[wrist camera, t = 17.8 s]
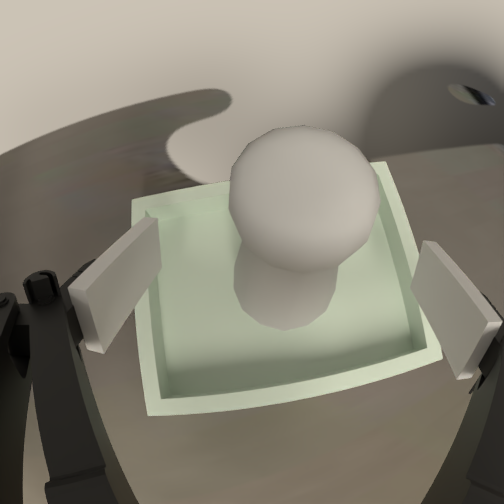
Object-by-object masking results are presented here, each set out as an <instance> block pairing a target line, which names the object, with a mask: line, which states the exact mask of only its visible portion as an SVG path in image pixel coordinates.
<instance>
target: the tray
mask: <svg viewBox="0 0 504 504" xmlns="http://www.w3.org/2000/svg"><path fill="white" fill-rule="evenodd" d="M370 165H371V166H372V167H373V169H374V170H375V172H376V174H377V180H378V186H379V192H380V199H381V203H380V206H379V209H378V213H377V216H376V219H375V221H374V224H373V227H372V230H371V233H370V235H369V238H368V241H367V242H366V243H365V244H364V245H363V246H362V247H361V248H360V249H359V250H357V251H356V252H355V253H354V254H352V255H351V256H350V257H349V258H347V259H346V260H345V261H344V262H342V263H341V264H340V265H339V266H338V273H337V281H336V289H335V292H334V294H333V296H332V299H331V301H330V303H329V306H328V308H327V310H326V311H325V312H324V313H323V314H322V315H320V316H319V317H318V318H317V319H315V320H314V321H313V322H311V323H310V324H309V325H307V326H303V327H299V328H295V329H290V330H286V331H282V330H279V329H275V328H271V327H268V326H264V325H261V324H259V323H258V322H257V321H256V320H254V319H253V318H252V317H251V316H249V315H248V314H247V313H246V312H244V311H243V310H242V308H241V305H240V303H239V300H238V298H237V296H236V293H235V291H234V265H235V262H236V259H237V255H238V252H239V249H240V245H241V242H242V239H241V237H240V235H239V232H238V230H237V228H236V226H235V223H234V221H233V219H232V217H231V214H230V212H229V209H228V207H229V191H230V180H229V181H223V182H217V183H212V184H206V185H201V186H195V187H190V188H185V189H179V190H174V191H169V192H164V193H160V194H155V195H150V196H145V197H141V198H136V199H132V215H131V228H132V227H133V226H134V225H135V224H136V223H137V222H139V221H140V220H141V219H142V218H143V217H151V218H158V228H159V241H160V252H161V262H162V268H161V270H160V271H159V273H158V274H157V275H156V277H155V278H154V280H153V281H152V283H151V284H150V285H149V287H148V288H147V290H146V291H145V293H144V294H143V296H142V297H141V299H140V300H139V301H138V303H137V304H136V306H135V307H134V308H135V321H136V332H137V342H138V351H139V360H140V368H141V375H142V382H143V389H144V396H145V402H146V408H147V414H148V416H163V415H183V414H197V413H209V412H220V411H229V410H237V409H245V408H252V407H259V406H266V405H272V404H278V403H284V402H289V401H295V400H300V399H305V398H310V397H315V396H319V395H324V394H328V393H332V392H337V391H341V390H345V389H349V388H353V387H356V386H360V385H364V384H368V383H371V382H375V381H378V380H381V379H385V378H388V377H391V376H394V375H398V374H401V373H404V372H407V371H410V370H413V369H416V368H419V367H421V366H424V365H427V364H430V363H433V362H435V361H438V360H441V359H443V358H442V351H441V346H440V343H439V341H438V339H437V337H436V335H435V333H434V331H433V330H432V328H431V326H430V324H429V322H428V320H427V318H426V316H425V314H424V313H423V311H422V309H421V307H420V305H419V304H418V302H417V300H416V298H415V296H414V295H413V293H412V291H411V289H410V286H411V282H412V279H413V276H414V273H415V269H416V266H417V262H418V259H419V253H418V250H417V247H416V243H415V240H414V237H413V234H412V231H411V228H410V225H409V222H408V219H407V216H406V213H405V210H404V208H403V205H402V202H401V199H400V197H399V194H398V191H397V189H396V186H395V184H394V181H393V179H392V176H391V174H390V171H389V169H388V166H387V164H386V162H374V163H370Z"/></svg>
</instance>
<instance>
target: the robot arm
mask: <svg viewBox="0 0 504 504" xmlns="http://www.w3.org/2000/svg"><path fill="white" fill-rule="evenodd" d="M161 268H162V262H161V252H160V241H159V228H158V218H151V217H143V218H142V219H141V220H140V221H139V222H137V223H136V224H135V225H134V226H133V227H132V228H131V229H129V230H128V231H127V232H126V233H125V234H124V235H123V236H122V237H120V238H119V239H118V240H117V241H116V242H115V243H114V244H113V245H112V246H110V247H109V248H108V249H107V250H106V251H105V252H104V253H103V254H102V255H101V256H100V257H99V258H97V259H94V260H92V261H90V262H88V263H86V264H84V265H83V266H82V267H81V268H80V269H79V270H78V272H76V273H75V274H74V275H73V276H72V277H70V278H69V279H68V280H67V281H66V282H65V283H64V284H63V285H62V286H61V287H60V288H59V284H58V281H57V277H56V274H55V272H53V271H49V270H44V271H38V272H36V273H33V274H31V275H30V276H28V277H27V278H26V279H25V280H24V282H23V287H24V290H25V293H26V296H27V299H28V301H29V304H18V302H17V300H16V297H15V295H14V294H13V293H0V504H23V452H24V438H25V428H26V418H27V410H28V403H29V396H30V390H31V384H32V382H33V391H34V399H35V407H36V413H37V420H38V425H39V431H40V436H41V441H42V446H43V451H44V455H45V459H46V463H47V467H48V471H49V476H50V481H49V482H47V483H45V494H46V499H47V502H48V504H139V503H138V501H137V499H136V497H135V495H134V494H133V492H132V490H131V488H130V485H129V483H128V481H127V479H126V477H125V475H124V473H123V471H122V468H121V466H120V464H119V462H118V459H117V457H116V455H115V452H114V450H113V448H112V445H111V443H110V440H109V438H108V435H107V433H106V430H105V427H104V425H103V422H102V419H101V416H100V413H99V411H98V408H97V405H96V402H95V399H94V396H93V392H92V389H91V386H90V383H89V379H88V376H87V372H86V369H85V365H84V361H83V358H82V354H81V350H80V348H79V345H78V344H79V343H80V341H81V340H82V339H83V338H84V341H85V344H86V347H87V349H88V350H91V351H95V352H99V353H103V354H104V353H105V352H106V350H107V349H108V347H109V345H110V344H111V342H112V341H113V339H114V338H115V336H116V335H117V333H118V331H119V330H120V328H121V327H122V325H123V324H124V322H125V321H126V319H127V318H128V316H129V315H130V313H131V312H132V310H133V309H134V307H135V306H136V304H137V303H138V301H139V300H140V299H141V297H142V296H143V294H144V293H145V291H146V290H147V288H148V287H149V285H150V284H151V283H152V281H153V280H154V278H155V277H156V275H157V274H158V273H159V271H160V270H161ZM410 289H411V291H412V293H413V295H414V296H415V298H416V300H417V302H418V304H419V305H420V307H421V309H422V311H423V313H424V314H425V316H426V318H427V320H428V322H429V324H430V326H431V328H432V330H433V331H434V333H435V335H436V337H437V339H438V341H439V343H440V345H441V347H442V349H443V351H444V353H445V356H446V358H447V360H448V362H449V364H450V366H451V368H452V370H453V372H454V375H455V377H456V379H465V378H471V377H472V376H473V374H474V372H475V371H476V369H477V367H478V366H479V368H480V370H481V372H482V373H481V375H480V376H479V378H478V380H477V381H476V383H475V384H474V386H473V387H472V389H471V390H470V392H469V394H471V393H472V392H473V394H472V397H471V400H470V403H469V405H468V408H467V411H466V413H465V416H464V418H463V421H462V423H461V426H460V428H459V431H458V433H457V435H456V438H455V440H454V442H453V444H452V446H451V449H450V451H449V453H448V455H447V457H446V459H445V461H444V463H443V465H442V467H441V469H440V471H439V473H438V475H437V476H436V478H435V480H434V482H433V484H432V486H431V487H430V489H429V491H428V492H427V494H426V496H425V498H424V499H423V501H422V503H421V504H504V319H503V317H502V316H501V315H500V314H499V312H498V311H497V310H496V308H495V307H494V306H493V305H491V302H490V301H489V299H488V298H487V297H486V296H485V295H484V294H482V293H481V292H480V291H479V290H478V289H477V288H476V287H475V286H474V284H473V283H472V282H471V281H470V280H469V278H468V277H467V276H466V275H465V274H464V273H463V271H462V270H461V269H460V268H459V267H458V266H457V265H456V263H455V262H454V261H453V260H452V259H451V258H450V257H449V256H448V255H447V253H446V252H445V251H444V250H443V249H442V248H441V247H440V246H439V245H438V244H437V243H436V242H432V241H424V240H423V244H422V248H421V251H420V255H419V259H418V262H417V266H416V269H415V273H414V276H413V279H412V282H411V286H410Z"/></svg>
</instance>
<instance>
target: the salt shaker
mask: <svg viewBox="0 0 504 504" xmlns="http://www.w3.org/2000/svg"><path fill="white" fill-rule="evenodd" d="M380 203H381V199H380V192H379V186H378V180H377V174H376V172H375V170H374V169H373V167H372V166H371V165H370V163H369V162H368V160H367V159H366V158H365V156H364V155H363V154H362V152H361V151H360V149H359V148H357V147H356V146H354V145H353V144H351V143H350V142H348V141H347V140H345V139H344V138H342V137H340V136H339V135H337V134H336V133H334V132H332V131H329V130H324V129H320V128H315V127H310V126H305V125H302V126H294V127H286V128H278V129H273V130H271V131H269V132H267V133H266V134H264V135H262V136H261V137H259V138H257V139H255V140H254V141H252V142H250V143H249V144H248V145H247V146H246V148H245V149H244V150H243V152H242V153H241V155H240V156H239V158H238V159H237V161H236V162H235V163H234V165H233V166H232V170H231V177H230V191H229V207H228V209H229V212H230V214H231V217H232V219H233V221H234V223H235V226H236V228H237V230H238V232H239V235H240V237H241V239H242V242H241V245H240V249H239V252H238V255H237V259H236V262H235V265H234V291H235V293H236V296H237V298H238V300H239V303H240V305H241V308H242V310H243V311H244V312H246V313H247V314H248V315H249V316H251V317H252V318H253V319H254V320H256V321H257V322H258V323H259V324H261V325H264V326H268V327H271V328H275V329H279V330H282V331H286V330H290V329H295V328H299V327H303V326H307V325H309V324H310V323H311V322H313V321H314V320H315V319H317V318H318V317H319V316H320V315H322V314H323V313H324V312H325V311H326V310H327V308H328V306H329V303H330V301H331V299H332V296H333V294H334V292H335V289H336V281H337V273H338V266H339V265H340V264H341V263H342V262H344V261H345V260H346V259H347V258H349V257H350V256H351V255H352V254H354V253H355V252H356V251H357V250H359V249H360V248H361V247H362V246H363V245H364V244H365V243H366V242H367V241H368V238H369V235H370V233H371V230H372V227H373V224H374V221H375V219H376V216H377V213H378V209H379V206H380Z"/></svg>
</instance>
